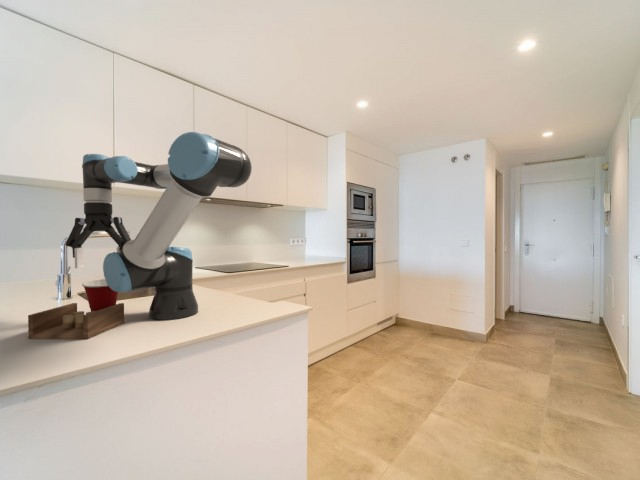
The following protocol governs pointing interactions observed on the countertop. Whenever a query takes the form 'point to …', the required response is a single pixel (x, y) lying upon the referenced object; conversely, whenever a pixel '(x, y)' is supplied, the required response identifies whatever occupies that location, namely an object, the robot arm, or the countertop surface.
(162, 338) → the countertop surface
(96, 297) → the plastic cup
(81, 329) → the peg board
